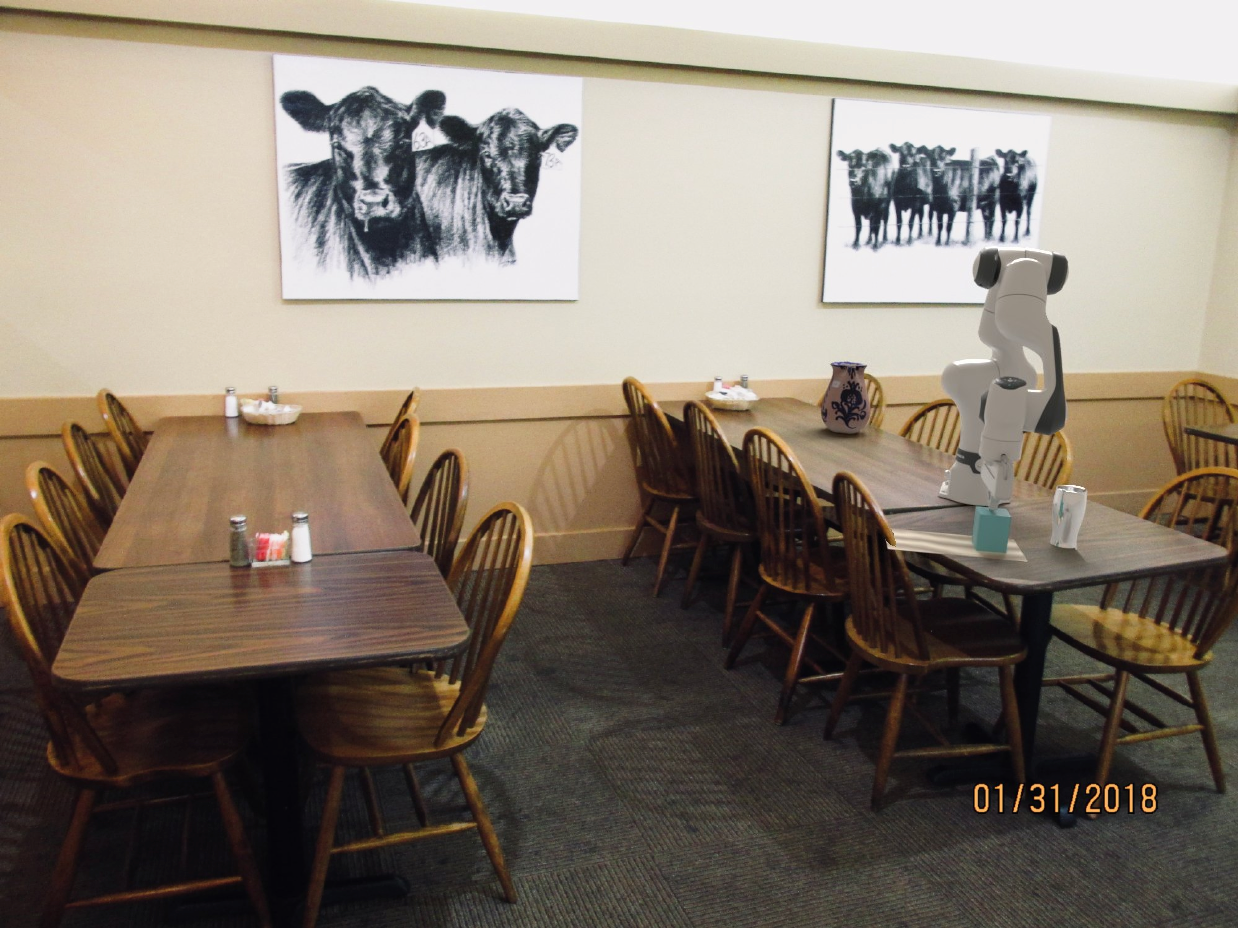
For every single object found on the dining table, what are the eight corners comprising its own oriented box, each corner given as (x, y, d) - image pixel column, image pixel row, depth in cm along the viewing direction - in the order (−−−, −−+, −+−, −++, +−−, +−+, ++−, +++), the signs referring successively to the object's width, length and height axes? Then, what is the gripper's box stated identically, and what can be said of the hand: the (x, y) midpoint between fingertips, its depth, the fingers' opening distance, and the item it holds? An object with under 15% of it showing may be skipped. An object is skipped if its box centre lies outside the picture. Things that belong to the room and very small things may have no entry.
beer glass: (1063, 556, 220) (1073, 493, 216) (1039, 546, 226) (1048, 486, 222) (1085, 553, 222) (1095, 491, 219) (1061, 543, 228) (1070, 483, 225)
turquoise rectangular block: (971, 541, 223) (975, 506, 221) (1000, 544, 222) (1005, 508, 220) (975, 550, 217) (980, 514, 215) (1006, 553, 216) (1011, 516, 214)
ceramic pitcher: (827, 436, 340) (833, 366, 334) (811, 424, 360) (816, 358, 354) (875, 437, 342) (882, 367, 335) (856, 425, 362) (862, 359, 356)
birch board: (882, 533, 232) (883, 527, 231) (1013, 545, 226) (1013, 539, 226) (887, 554, 216) (887, 548, 216) (1026, 568, 211) (1027, 561, 210)
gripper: (1024, 462, 204) (1015, 523, 208) (1007, 441, 223) (999, 497, 227) (993, 459, 205) (985, 520, 209) (978, 438, 225) (971, 495, 228)
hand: (992, 508), depth 218 cm, fingers closed
